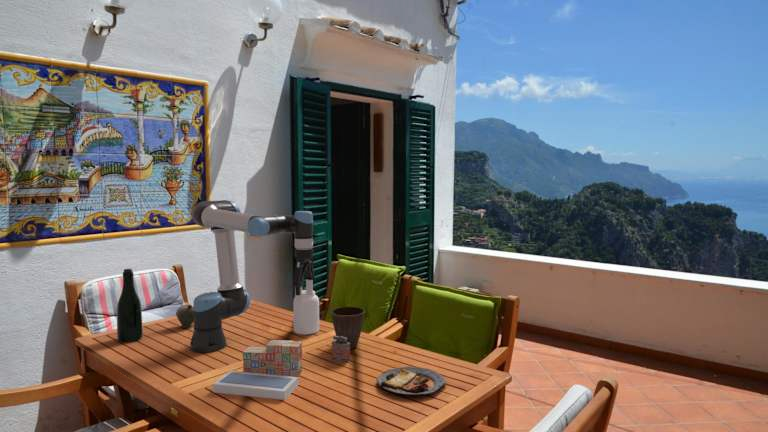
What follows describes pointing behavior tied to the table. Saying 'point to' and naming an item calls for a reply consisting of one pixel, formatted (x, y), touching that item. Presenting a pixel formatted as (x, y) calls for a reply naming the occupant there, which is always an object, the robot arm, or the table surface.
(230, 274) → the robot arm
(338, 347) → the lighter
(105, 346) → the table surface
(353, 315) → the plant pot
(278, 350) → the stack of blocks
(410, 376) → the food plate
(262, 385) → the base board
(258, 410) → the table surface
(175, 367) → the table surface
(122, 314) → the beer bottle
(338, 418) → the table surface
